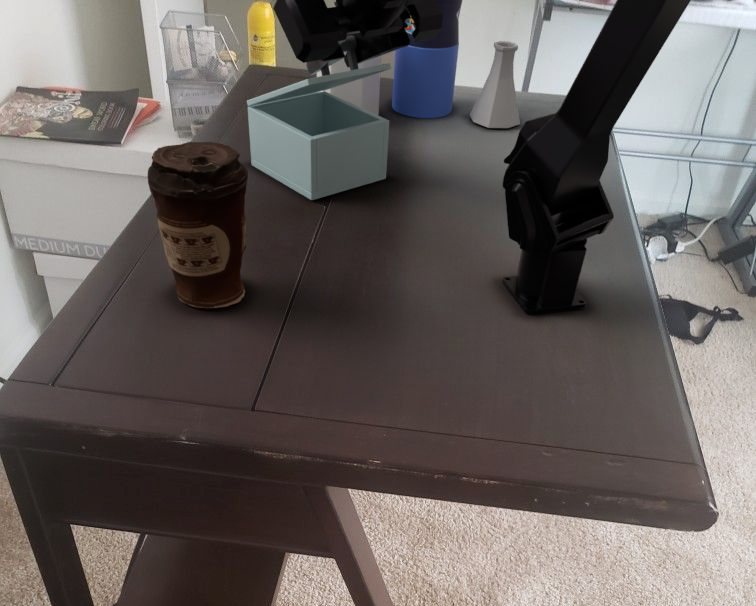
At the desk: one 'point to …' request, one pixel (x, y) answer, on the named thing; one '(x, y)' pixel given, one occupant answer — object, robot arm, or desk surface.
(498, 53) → the flask
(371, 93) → the jar
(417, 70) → the water bottle
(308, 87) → the lid
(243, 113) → the desk surface
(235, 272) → the coffee cup
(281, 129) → the pale teal lidded box
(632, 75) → the robot arm
